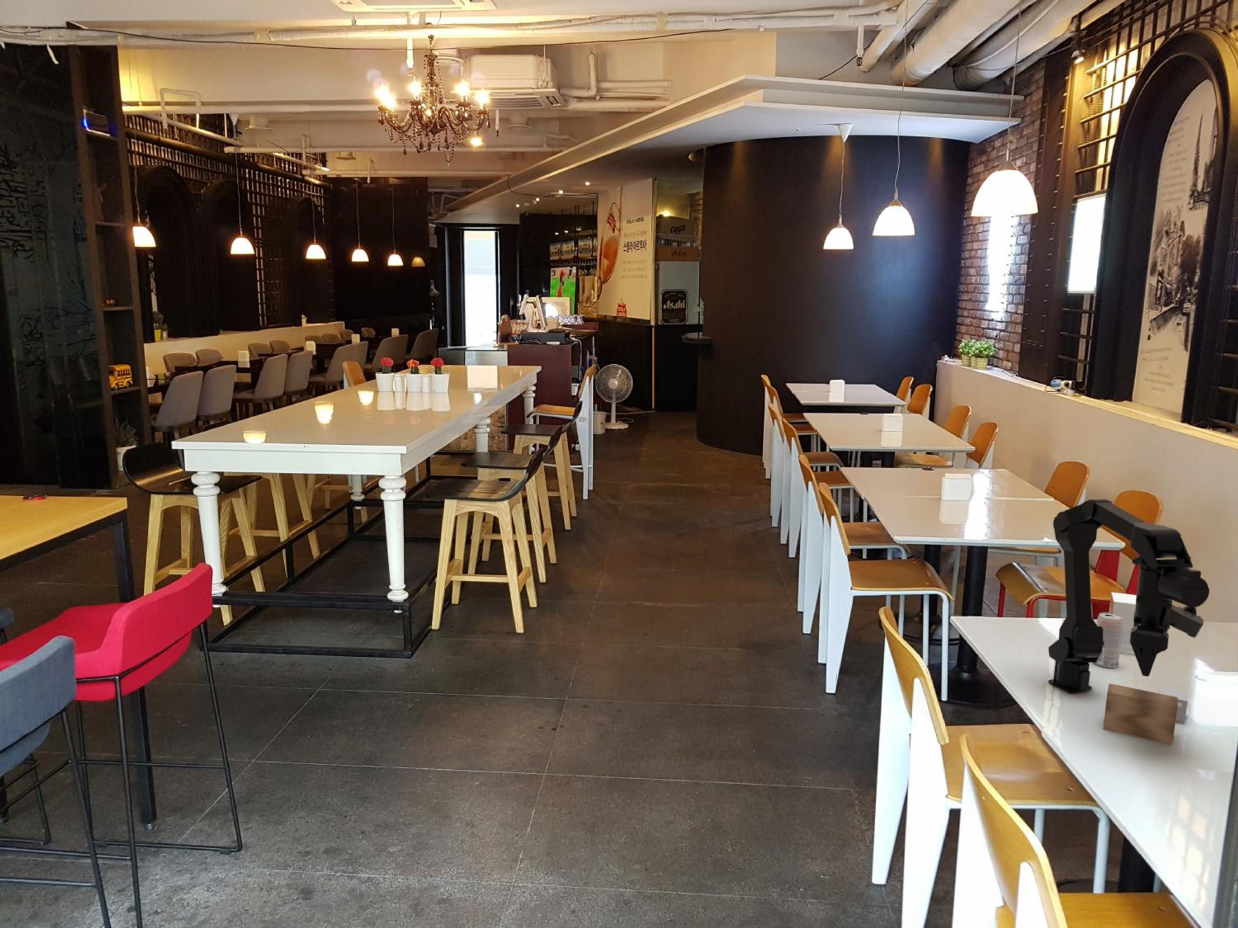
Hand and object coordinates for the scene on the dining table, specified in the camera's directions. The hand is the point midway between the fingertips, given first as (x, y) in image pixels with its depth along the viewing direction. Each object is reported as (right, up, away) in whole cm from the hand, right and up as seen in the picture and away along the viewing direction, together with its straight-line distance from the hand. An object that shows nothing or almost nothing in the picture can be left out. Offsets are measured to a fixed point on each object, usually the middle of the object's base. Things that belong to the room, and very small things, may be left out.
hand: (1146, 668), depth 179 cm
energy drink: (+12, -7, +37) cm, 39 cm away
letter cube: (+11, -12, +10) cm, 19 cm away
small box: (+21, -6, +47) cm, 52 cm away
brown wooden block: (0, -13, +2) cm, 13 cm away
